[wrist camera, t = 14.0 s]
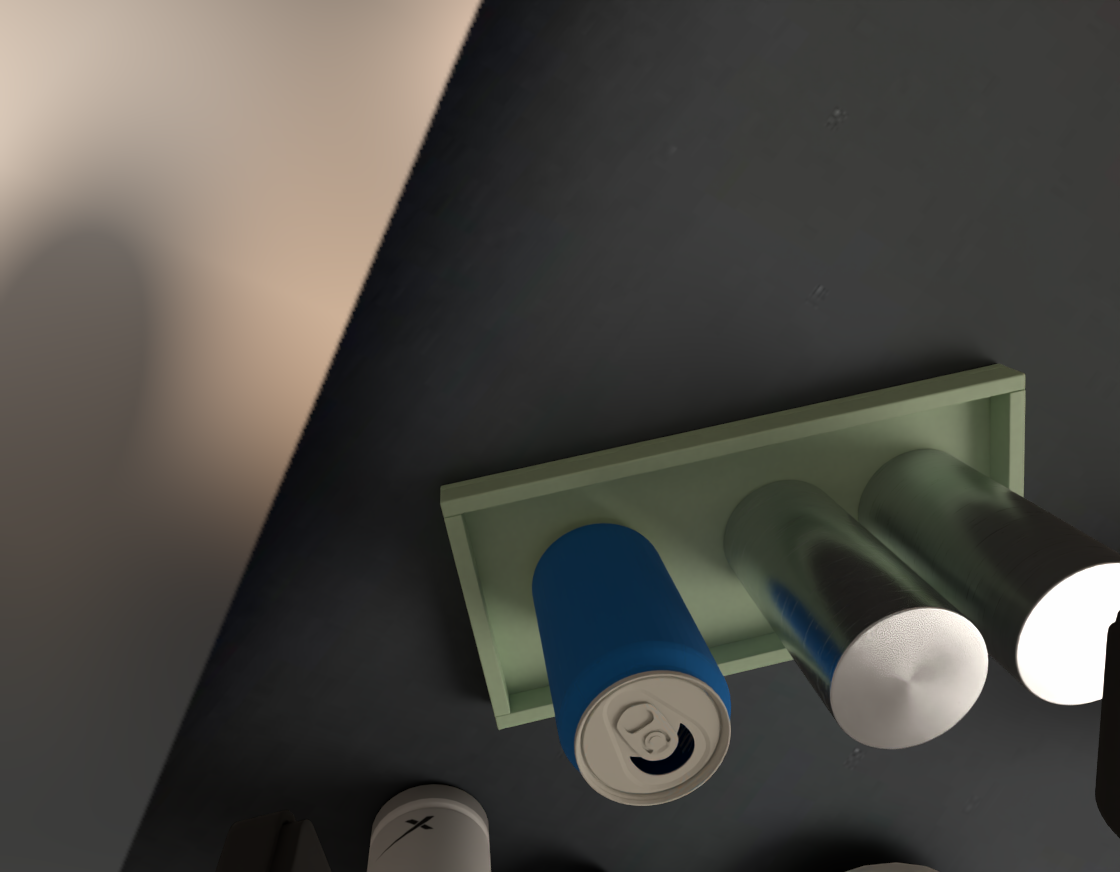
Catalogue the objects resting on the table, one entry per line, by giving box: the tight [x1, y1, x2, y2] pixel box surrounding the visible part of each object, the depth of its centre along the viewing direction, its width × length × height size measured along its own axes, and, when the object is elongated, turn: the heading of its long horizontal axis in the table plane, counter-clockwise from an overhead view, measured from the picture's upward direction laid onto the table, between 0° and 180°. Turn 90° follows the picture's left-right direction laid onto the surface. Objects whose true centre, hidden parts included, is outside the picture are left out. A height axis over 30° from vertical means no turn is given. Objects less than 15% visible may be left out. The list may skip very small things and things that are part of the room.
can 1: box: [723, 480, 988, 749], centre depth 34 cm, size 6×6×12 cm
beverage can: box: [532, 523, 731, 806], centre depth 34 cm, size 6×6×12 cm
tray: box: [440, 364, 1025, 730], centre depth 39 cm, size 13×28×2 cm, turn 100°
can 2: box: [858, 449, 1120, 705], centre depth 35 cm, size 6×6×12 cm
